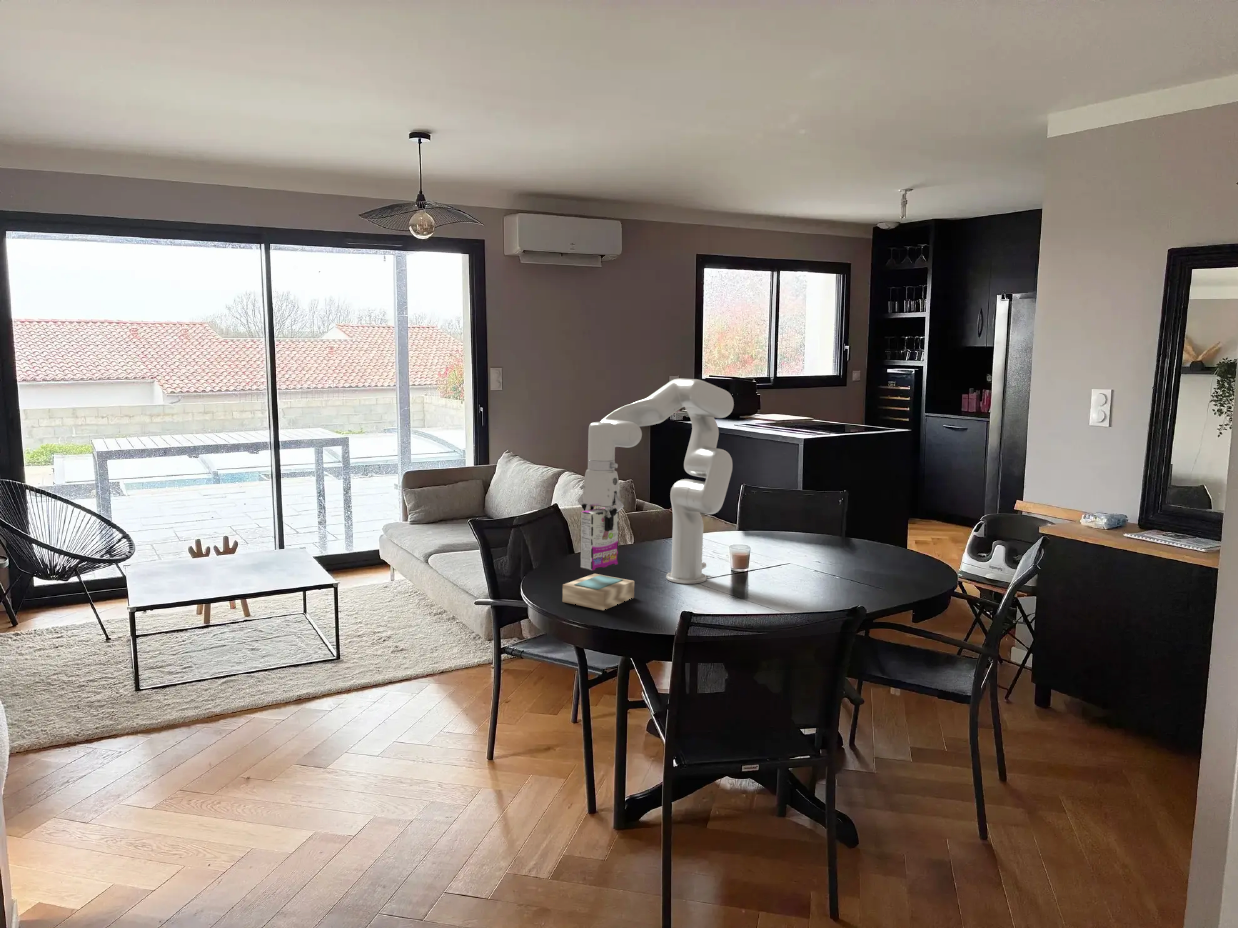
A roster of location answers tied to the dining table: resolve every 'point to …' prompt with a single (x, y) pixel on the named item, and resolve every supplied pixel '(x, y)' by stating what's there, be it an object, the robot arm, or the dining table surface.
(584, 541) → the candy bar box
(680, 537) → the robot arm
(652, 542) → the dining table surface
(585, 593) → the wooden brick
